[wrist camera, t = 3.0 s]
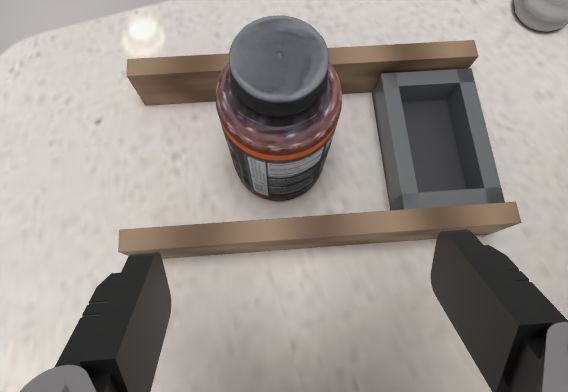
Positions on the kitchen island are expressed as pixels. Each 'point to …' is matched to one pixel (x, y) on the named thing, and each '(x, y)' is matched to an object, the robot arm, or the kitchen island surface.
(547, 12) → the rook chess piece
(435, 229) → the walnut channel
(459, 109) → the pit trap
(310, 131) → the supplement bottle
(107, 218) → the kitchen island surface
